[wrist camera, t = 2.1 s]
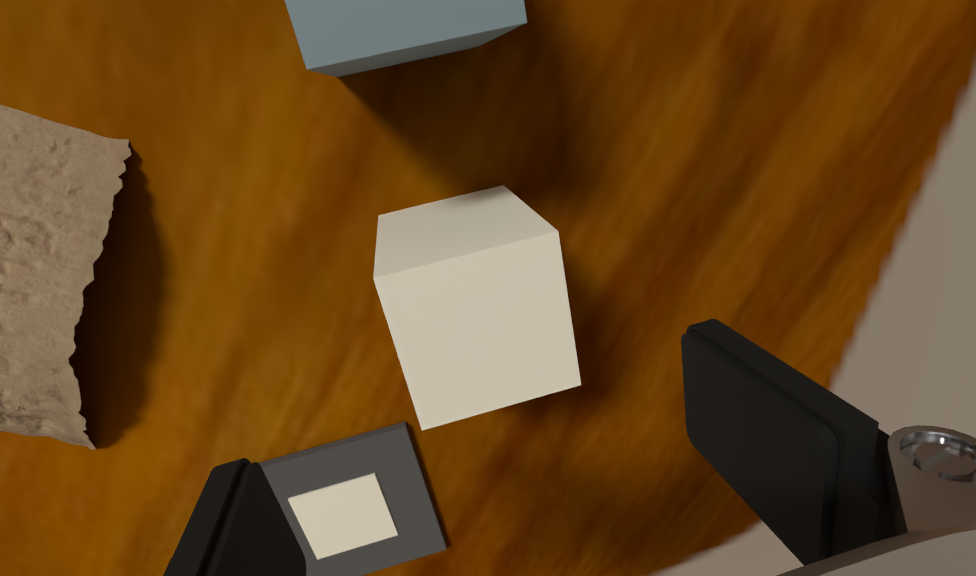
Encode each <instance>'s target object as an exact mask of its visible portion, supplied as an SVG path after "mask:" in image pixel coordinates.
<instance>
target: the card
mask: <svg viewBox="0 0 976 576" xmlns="http://www.w3.org/2000/svg"><path fill="white" fill-rule="evenodd" d="M259 464H260V466H261V467H262V469H263V471H264V473H265V475H266V478H267V480H268V482H269V484H270V486H271V488H272V490H273V492H274V494H275V496H276V498H277V500H278V502H279V504H280V506H281V508H282V510H283V512H284V514H285V516H286V519H287V521H288V523H289V525H290V527H291V529H292V531H293V533H294V535H295V537H296V539H297V541H298V543H299V545H300V547H301V549H302V551H303V554H304V556H305V560H306V576H361V575H365V574H368V573H371V572H374V571H377V570H381V569H384V568H387V567H390V566H394V565H397V564H400V563H403V562H407V561H410V560H413V559H416V558H420V557H423V556H426V555H429V554H433V553H436V552H439V551H442V550H446V549H447V548H446V542H445V539H444V536H443V533H442V530H441V527H440V524H439V521H438V518H437V515H436V512H435V509H434V506H433V503H432V500H431V497H430V494H429V491H428V488H427V485H426V482H425V479H424V476H423V473H422V470H421V467H420V464H419V461H418V458H417V455H416V452H415V449H414V446H413V443H412V440H411V437H410V434H409V431H408V428H407V425H406V422H402V423H399V424H395V425H392V426H388V427H385V428H381V429H378V430H374V431H370V432H367V433H363V434H360V435H356V436H353V437H349V438H346V439H342V440H339V441H335V442H332V443H328V444H324V445H321V446H317V447H314V448H310V449H307V450H303V451H300V452H296V453H293V454H289V455H286V456H282V457H278V458H275V459H271V460H268V461H264V462H261V463H259Z"/></svg>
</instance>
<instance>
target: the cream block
mask: <svg viewBox="0 0 976 576" xmlns="http://www.w3.org/2000/svg"><path fill="white" fill-rule="evenodd" d="M373 279H374V282H375V285H376V288H377V291H378V295H379V298H380V301H381V304H382V307H383V310H384V313H385V316H386V320H387V323H388V326H389V329H390V332H391V335H392V338H393V342H394V345H395V348H396V351H397V354H398V357H399V360H400V363H401V367H402V370H403V373H404V376H405V379H406V382H407V385H408V388H409V392H410V395H411V398H412V401H413V404H414V407H415V410H416V413H417V417H418V420H419V423H420V426H421V429H422V430H425V429H429V428H432V427H436V426H439V425H443V424H446V423H450V422H453V421H457V420H460V419H464V418H467V417H471V416H474V415H478V414H481V413H485V412H488V411H492V410H496V409H499V408H503V407H506V406H510V405H513V404H517V403H520V402H524V401H527V400H531V399H534V398H538V397H541V396H545V395H548V394H552V393H555V392H559V391H562V390H566V389H569V388H573V387H576V386H580V385H581V380H580V373H579V367H578V360H577V353H576V347H575V340H574V333H573V327H572V320H571V313H570V307H569V300H568V293H567V286H566V280H565V273H564V266H563V260H562V253H561V246H560V240H559V233H558V231H557V230H556V229H555V228H554V227H553V226H551V225H550V224H549V223H548V222H547V221H545V220H544V219H543V218H542V217H541V216H539V215H538V214H537V213H536V212H535V211H533V210H532V209H531V208H530V207H529V206H528V205H526V204H525V203H524V202H523V201H522V200H520V199H519V198H518V197H517V196H516V195H514V194H513V193H512V192H511V191H510V190H508V189H507V188H506V187H505V186H504V185H502V186H498V187H493V188H489V189H485V190H481V191H477V192H473V193H469V194H465V195H461V196H456V197H452V198H448V199H444V200H440V201H436V202H432V203H428V204H423V205H419V206H415V207H411V208H407V209H403V210H399V211H395V212H391V213H386V214H382V215H379V216H378V228H377V240H376V252H375V264H374V276H373Z"/></svg>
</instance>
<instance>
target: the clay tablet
mask: <svg viewBox="0 0 976 576" xmlns="http://www.w3.org/2000/svg"><path fill="white" fill-rule="evenodd" d="M128 143H129V140H125V139H111V138H105V137H102V136H99V135H96V134H94V133H91V132H88V131H85V130H81V129H77V128H74V127H70V126H66V125H63V124H59V123H56V122H53V121H50V120H46V119H43V118H40V117H37V116H34V115H31V114H28V113H26V112H23V111H19V110H16V109H12V108H9V107H6V106H2V105H0V431H5V432H12V433H18V434H22V435H27V436H49V437H53V438H56V439H59V440H62V441H64V442H67V443H70V444H77V445H82V446H88V447H89V448H90V450H92V449H96V448H95V447H94V445H93V444H92V443H91V442H90V440H89V439H88V438H89V437H88V436H87V435H86V434H85V433H84V432H83V431H84V430H87V429H86V427H85V424H86V420H85V418H84V417H82V416H81V415H80V414H79V413H78V412H79V411H80V407H81V399H80V390H79V386H78V382H79V381H78V380H77V379H76V377H75V376H74V372H73V368H72V367H71V366H70V364H69V359H68V358H69V357H70V356H71V355H72V354H73V353H74V350H75V348H76V345H75V343H74V334H75V333H74V326H75V325H76V324H77V323H78V322H79V318H80V316H81V314H82V308H83V306H84V305H83V294H82V292H83V290H84V288H85V287H86V285H88V284H89V283H90V282H92V281H93V280H94V272H93V263H94V262H95V261H96V260H97V259H98V257H99V256H100V254H101V253H102V251H103V245H102V241H103V239H104V238H105V236H106V235H107V232H108V227H109V223H108V221H109V220H110V218H111V217H112V211H113V199H114V195H115V194H117V193H118V191H119V190H120V189H121V188H122V187H123V186H122V180H121V179H120V178H119V177H118V176H120V175H121V174H122V173H123V172H125V171H126V167H125V163H124V162H123V161H124V160H125V159H127V158H128V157H129V156H131V152H130V149H129V147H128Z"/></svg>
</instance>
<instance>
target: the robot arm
mask: <svg viewBox="0 0 976 576" xmlns="http://www.w3.org/2000/svg"><path fill="white" fill-rule="evenodd" d="M681 348H682V364H683V380H684V396H685V412H686V428H687V434H688V437H689V439H690V441H691V443H692V444H693V446H694V447H695V448H696V449H697V450H698V451H699V452H700V453H701V454H702V456H703V457H704V458H705V459H706V460H707V461H708V462H709V463H710V464H711V465H712V466H713V467H714V469H715V470H716V471H717V472H718V473H719V474H720V475H721V476H722V477H723V478H724V479H725V480H726V482H727V483H728V484H729V485H730V486H731V487H732V488H733V489H734V490H735V491H736V492H737V493H738V495H739V496H740V497H741V498H742V499H743V500H744V501H745V502H746V503H747V504H748V505H749V506H750V508H751V509H752V510H753V511H754V512H755V513H756V514H757V515H758V516H759V517H760V518H761V519H762V521H763V522H764V523H765V524H766V525H767V526H768V527H769V528H770V529H771V530H772V531H773V532H774V533H775V535H776V536H777V537H778V538H779V539H780V540H781V541H782V542H783V543H784V544H785V545H786V547H787V548H788V549H789V550H790V551H791V552H792V553H793V554H794V555H795V556H796V557H797V558H798V559H799V561H800V562H801V563H802V564H803V565H804V566H803V567H800V568H797V569H794V570H791V571H788V572H786V573H783V574H780V575H777V576H976V438H974V437H971V436H969V435H966V434H964V433H960V432H957V431H955V430H951V429H946V428H941V427H935V426H911V427H904V428H902V429H900V430H897V431H895V432H893V434H892V435H891V436H889V435H888V434H886V433H885V432H883V431H882V430H880V429H878V425H879V422H877V421H876V420H874V419H872V418H871V417H869V416H868V415H866V414H864V413H863V412H861V411H860V410H858V409H857V408H855V407H854V406H852V405H850V404H849V403H847V402H845V401H844V400H842V399H841V398H839V397H838V396H836V395H835V394H833V393H832V392H830V391H828V390H827V389H825V388H824V387H822V386H821V385H819V384H817V383H816V382H814V381H813V380H811V379H810V378H808V377H806V376H805V375H803V374H802V373H800V372H799V371H797V370H795V369H794V368H792V367H791V366H789V365H788V364H786V363H784V362H783V361H781V360H780V359H778V358H777V357H775V356H773V355H772V354H770V353H769V352H767V351H766V350H764V349H762V348H761V347H759V346H758V345H756V344H754V343H753V342H751V341H750V340H748V339H747V338H745V337H743V336H742V335H740V334H739V333H737V332H736V331H734V330H732V329H731V328H729V327H728V326H726V325H725V324H723V323H721V322H720V321H718V320H716V319H710V320H707V321H704V322H700V323H697V324H693V325H690V326H689V327H688V328H687V331H686V334H683V335H682V337H681ZM163 576H306V560H305V556H304V554H303V551H302V549H301V547H300V545H299V543H298V541H297V539H296V537H295V535H294V533H293V531H292V529H291V527H290V525H289V523H288V521H287V519H286V516H285V514H284V512H283V510H282V508H281V506H280V504H279V502H278V500H277V498H276V496H275V494H274V492H273V490H272V488H271V486H270V484H269V482H268V480H267V478H266V475H265V473H264V471H263V469H262V467H261V466H260V464H259V463H257V462H254V463H250V461H249V460H248V459H246V458H242V459H239V460H236V461H232V462H229V463H225V464H222V465H219V466H216V467H214V468H213V470H212V471H211V473H210V475H209V477H208V480H207V482H206V484H205V486H204V489H203V491H202V493H201V495H200V497H199V500H198V502H197V504H196V506H195V508H194V511H193V513H192V515H191V517H190V519H189V522H188V524H187V526H186V528H185V530H184V533H183V535H182V537H181V539H180V542H179V544H178V546H177V548H176V550H175V553H174V555H173V557H172V558H171V560H170V562H169V564H168V566H167V569H166V571H165V573H164V575H163Z"/></svg>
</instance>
